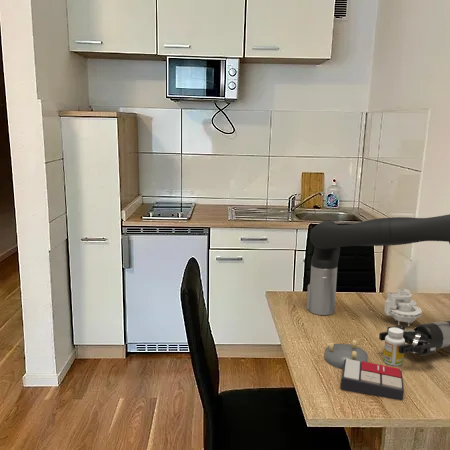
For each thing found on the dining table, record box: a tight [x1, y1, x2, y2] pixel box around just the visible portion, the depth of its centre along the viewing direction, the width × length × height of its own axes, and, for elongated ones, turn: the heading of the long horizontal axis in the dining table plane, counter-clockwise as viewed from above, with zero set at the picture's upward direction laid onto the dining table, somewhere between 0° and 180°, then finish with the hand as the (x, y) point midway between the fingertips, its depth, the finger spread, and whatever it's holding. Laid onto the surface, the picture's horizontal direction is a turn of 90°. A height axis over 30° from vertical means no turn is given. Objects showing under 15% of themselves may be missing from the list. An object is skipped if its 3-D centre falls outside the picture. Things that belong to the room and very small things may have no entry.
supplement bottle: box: [382, 328, 406, 367], centre depth 134 cm, size 5×5×10 cm
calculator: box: [340, 359, 405, 401], centre depth 123 cm, size 11×4×15 cm
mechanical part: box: [383, 287, 423, 327], centre depth 162 cm, size 11×12×12 cm
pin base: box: [324, 339, 369, 370], centre depth 136 cm, size 12×12×4 cm
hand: (389, 343), depth 134 cm, fingers open, 8 cm apart
